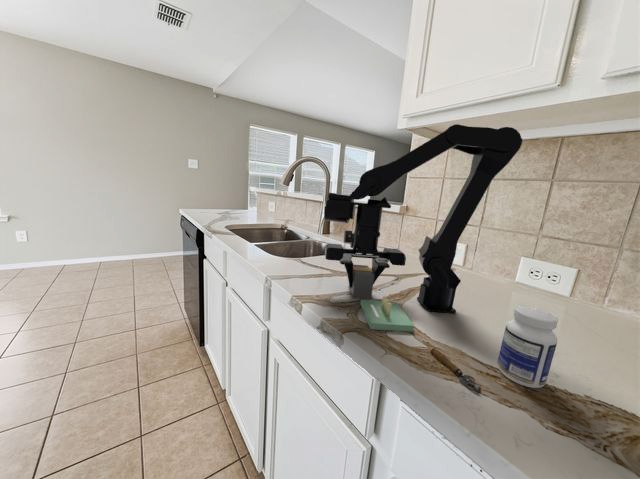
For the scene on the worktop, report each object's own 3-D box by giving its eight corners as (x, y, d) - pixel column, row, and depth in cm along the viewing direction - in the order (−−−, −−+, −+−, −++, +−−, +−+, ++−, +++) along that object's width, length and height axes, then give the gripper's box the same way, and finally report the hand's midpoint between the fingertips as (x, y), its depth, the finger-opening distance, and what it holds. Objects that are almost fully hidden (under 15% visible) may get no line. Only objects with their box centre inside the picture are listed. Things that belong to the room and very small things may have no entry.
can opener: (429, 354, 41) (430, 347, 41) (441, 352, 41) (443, 346, 41) (473, 399, 32) (475, 392, 32) (488, 397, 33) (490, 389, 33)
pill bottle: (522, 362, 40) (538, 305, 38) (556, 391, 35) (576, 324, 33) (487, 360, 40) (501, 302, 38) (515, 389, 34) (534, 322, 32)
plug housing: (348, 286, 66) (351, 263, 65) (365, 287, 66) (368, 264, 65) (352, 297, 59) (355, 272, 58) (371, 298, 60) (374, 273, 58)
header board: (360, 304, 56) (362, 288, 55) (395, 307, 56) (398, 291, 56) (370, 329, 46) (373, 310, 46) (413, 331, 47) (416, 313, 46)
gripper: (395, 224, 68) (387, 279, 71) (326, 218, 67) (321, 274, 70) (411, 230, 57) (401, 295, 60) (329, 224, 56) (322, 289, 59)
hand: (359, 287), depth 63 cm, fingers closed on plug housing, 4 cm apart
